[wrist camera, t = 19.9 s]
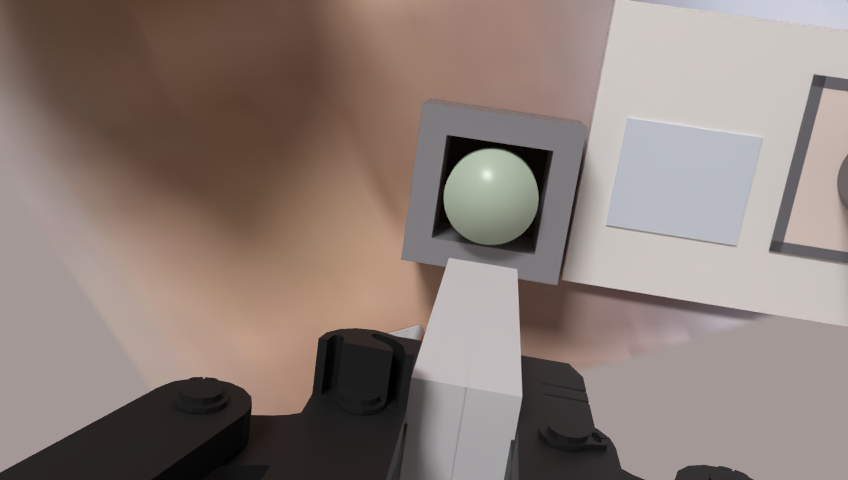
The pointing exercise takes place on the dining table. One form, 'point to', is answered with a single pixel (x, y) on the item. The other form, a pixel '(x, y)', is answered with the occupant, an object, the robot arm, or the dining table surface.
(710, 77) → the board
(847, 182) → the grey and orange bottle
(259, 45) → the dining table surface
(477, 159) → the button
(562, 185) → the button housing
